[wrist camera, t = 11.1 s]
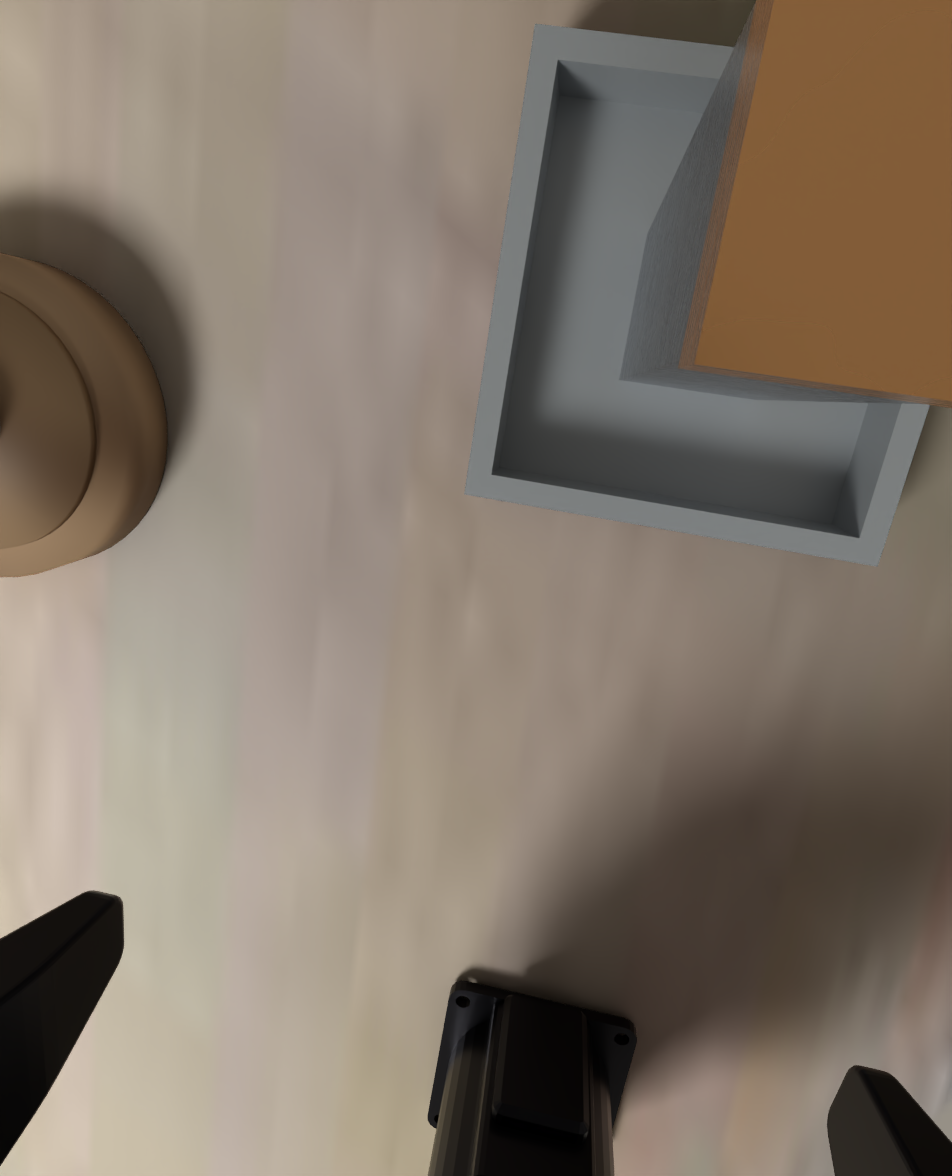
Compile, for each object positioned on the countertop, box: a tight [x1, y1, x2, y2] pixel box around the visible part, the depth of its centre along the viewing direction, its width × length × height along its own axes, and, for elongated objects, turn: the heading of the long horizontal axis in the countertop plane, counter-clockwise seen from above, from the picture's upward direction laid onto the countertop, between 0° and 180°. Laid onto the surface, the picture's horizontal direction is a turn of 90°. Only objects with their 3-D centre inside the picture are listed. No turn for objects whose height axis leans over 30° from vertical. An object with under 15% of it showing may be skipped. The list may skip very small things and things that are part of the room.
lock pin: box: [619, 0, 952, 408], centre depth 12 cm, size 4×4×13 cm
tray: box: [464, 24, 930, 567], centre depth 17 cm, size 10×10×2 cm
